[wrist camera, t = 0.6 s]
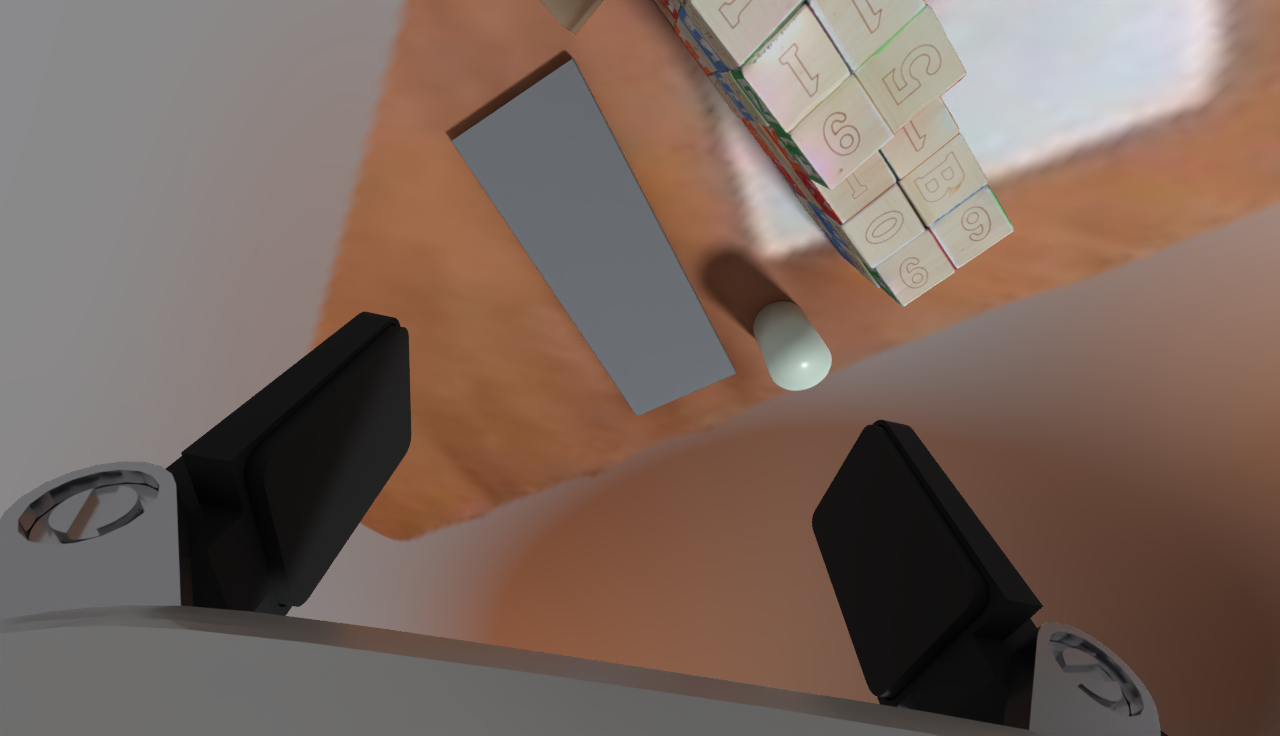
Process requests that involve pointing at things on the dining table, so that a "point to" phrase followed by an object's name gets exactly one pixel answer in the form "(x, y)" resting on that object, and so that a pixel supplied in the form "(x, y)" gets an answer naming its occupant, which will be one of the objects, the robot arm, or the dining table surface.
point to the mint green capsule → (791, 346)
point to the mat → (595, 239)
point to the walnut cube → (572, 12)
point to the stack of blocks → (855, 125)
